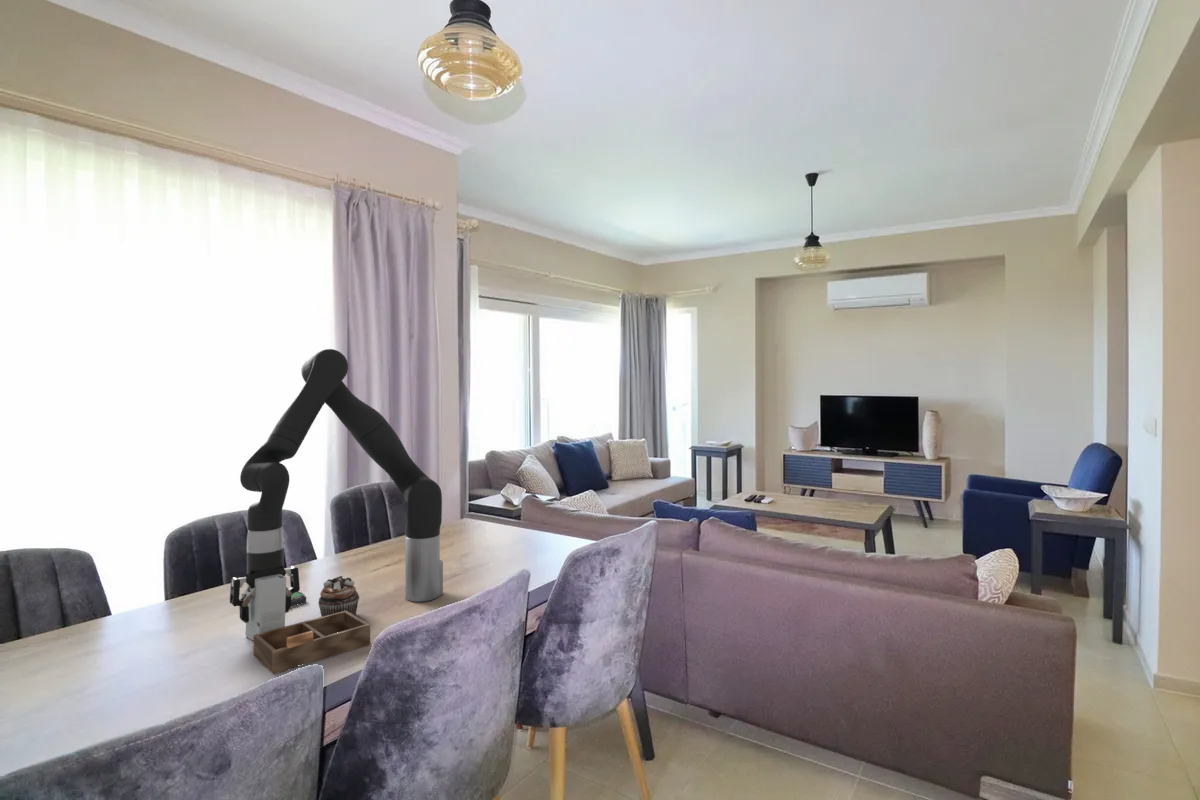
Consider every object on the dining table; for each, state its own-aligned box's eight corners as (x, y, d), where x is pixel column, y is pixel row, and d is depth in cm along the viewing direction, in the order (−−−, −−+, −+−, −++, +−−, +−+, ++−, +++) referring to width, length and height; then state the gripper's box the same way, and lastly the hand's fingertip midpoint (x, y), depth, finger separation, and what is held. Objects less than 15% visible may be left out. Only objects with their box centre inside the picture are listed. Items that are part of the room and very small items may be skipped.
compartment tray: (346, 628, 148) (346, 602, 148) (370, 644, 139) (370, 615, 139) (253, 655, 133) (253, 625, 133) (273, 674, 125) (273, 642, 124)
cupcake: (309, 622, 152) (309, 582, 152) (339, 609, 161) (338, 571, 161) (339, 627, 149) (338, 586, 149) (367, 614, 158) (367, 575, 158)
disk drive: (240, 604, 166) (269, 615, 158) (240, 594, 166) (268, 604, 158) (278, 593, 175) (307, 603, 166) (278, 584, 175) (307, 593, 166)
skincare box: (245, 637, 143) (244, 573, 143) (272, 629, 148) (271, 567, 147) (259, 646, 138) (259, 581, 137) (287, 638, 142) (287, 575, 142)
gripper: (291, 539, 150) (292, 604, 150) (225, 550, 140) (226, 620, 140) (303, 544, 145) (304, 612, 145) (236, 556, 135) (236, 629, 135)
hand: (265, 616), depth 143 cm, fingers open, 8 cm apart
